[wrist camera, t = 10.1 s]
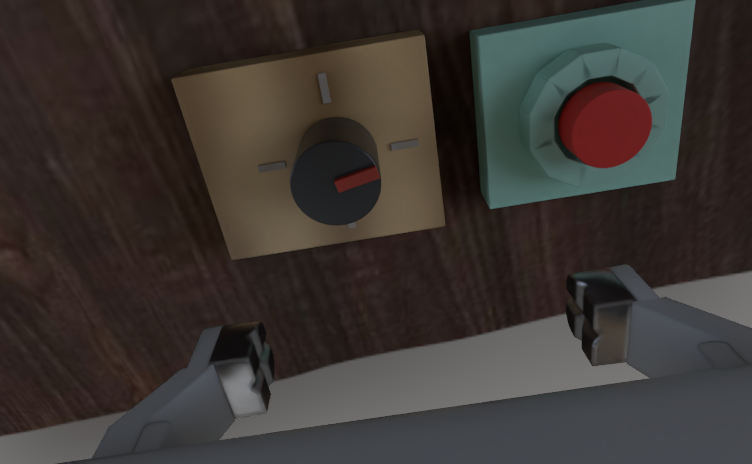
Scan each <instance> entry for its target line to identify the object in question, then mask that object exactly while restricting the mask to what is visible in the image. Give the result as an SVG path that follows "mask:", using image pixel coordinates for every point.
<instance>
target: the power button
mask: <svg viewBox="0 0 752 464" xmlns="http://www.w3.org/2000/svg"><path fill="white" fill-rule="evenodd" d="M651 127H652V114H651V110H650V107H649V105H648V104H647V102H646V101H645V100H644V99H643V97H641V96H640V95H639V94H637V93H635V92H633V91H631V90H628V89H626V88H624V87H622V86H619V85H617V84H614V83H610V82H597V83H593V84H590V85H587V86H585V87H583V88H582V89H580V90H579V91H577V92H576V93H575V94H573V96H572V97H571V98H570V99H569V100H568V101H567V102H566V104H565V106H564V107H563V109H562V112H561V114H560V118H559V124H558V130H559V136H560V139H561V141H562V143H563V144H564V146H565V147H566V148H567V149H568V150H569V151H570V152H572V153H573V154H574V155H575V156H576V157H577V158H579V159H580V160H581V161H582V162H584V163H585V164H587V165H589V166H592V167H595V168H611V167H615V166H618V165H621V164H623V163H625V162H627V161H628V160H630V159H631V158H633V157H634V156H635V155H636V154H637V153H638V152H639V151H640V150H641V149H642V147H643V146H644V145H645V143H646V141H647V139H648V137H649V135H650V132H651Z"/></svg>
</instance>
